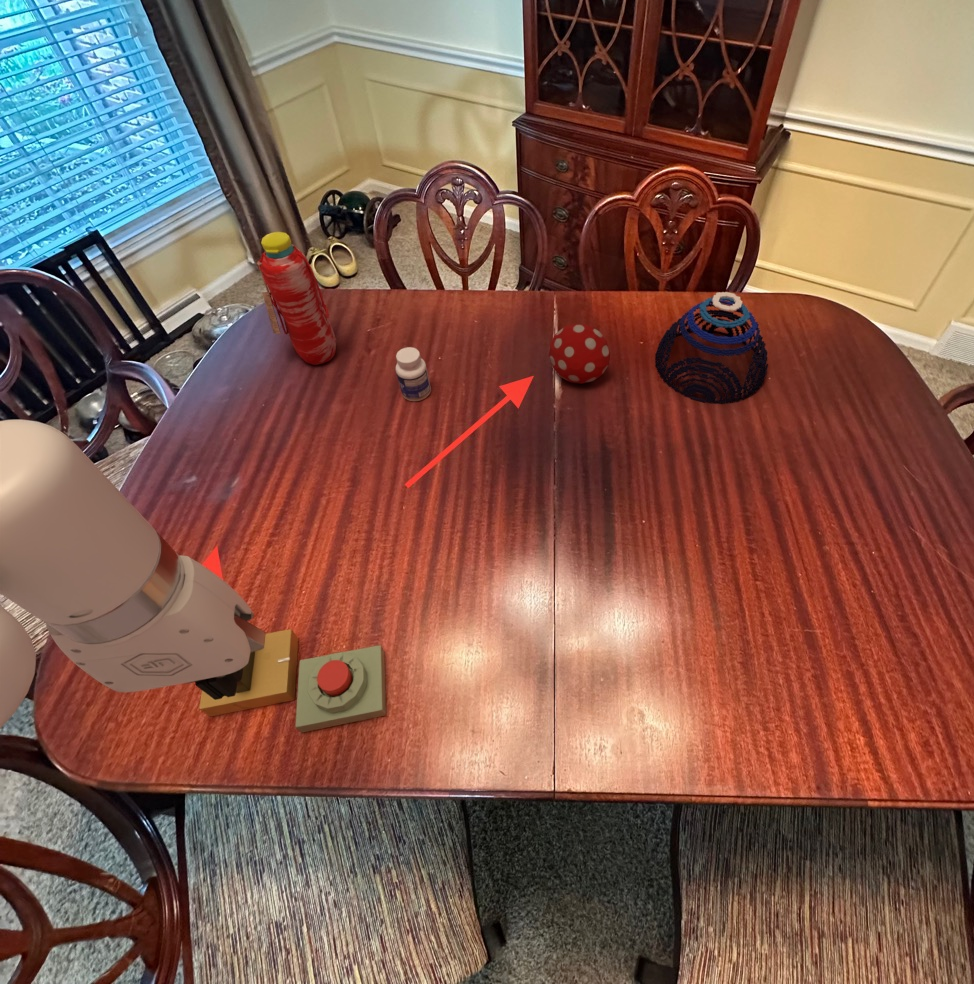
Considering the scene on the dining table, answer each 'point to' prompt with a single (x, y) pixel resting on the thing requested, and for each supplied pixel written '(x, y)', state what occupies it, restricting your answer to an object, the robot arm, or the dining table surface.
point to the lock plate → (263, 677)
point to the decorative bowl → (714, 350)
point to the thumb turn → (246, 676)
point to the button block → (351, 705)
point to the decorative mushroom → (579, 353)
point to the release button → (334, 677)
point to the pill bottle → (412, 374)
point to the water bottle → (296, 299)
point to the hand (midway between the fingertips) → (228, 680)
